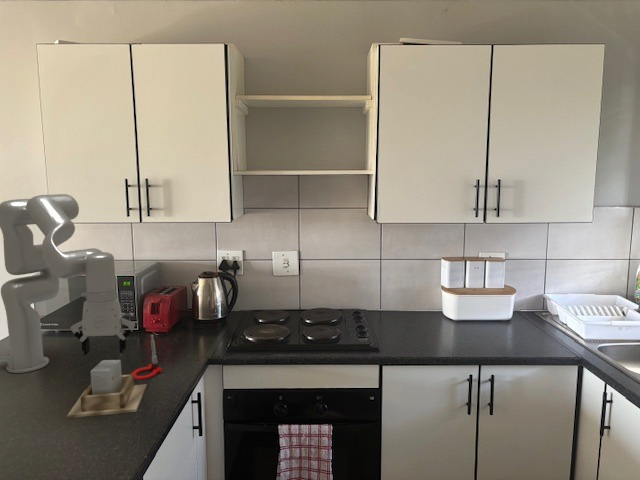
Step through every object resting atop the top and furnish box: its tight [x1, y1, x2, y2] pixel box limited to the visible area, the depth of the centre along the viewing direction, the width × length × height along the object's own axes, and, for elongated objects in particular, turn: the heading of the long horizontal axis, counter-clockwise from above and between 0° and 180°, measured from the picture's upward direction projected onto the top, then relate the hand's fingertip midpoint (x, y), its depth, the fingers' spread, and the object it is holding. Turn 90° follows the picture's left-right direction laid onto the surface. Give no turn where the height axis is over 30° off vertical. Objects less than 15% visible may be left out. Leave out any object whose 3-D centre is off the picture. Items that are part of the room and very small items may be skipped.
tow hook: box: [130, 334, 164, 381], centre depth 154 cm, size 8×13×9 cm
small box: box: [90, 359, 123, 395], centre depth 136 cm, size 8×6×10 cm
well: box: [66, 373, 147, 419], centre depth 136 cm, size 18×16×5 cm
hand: (104, 352), depth 135 cm, fingers open, 9 cm apart
